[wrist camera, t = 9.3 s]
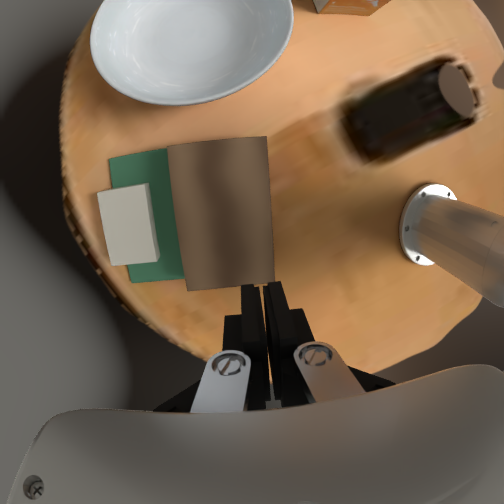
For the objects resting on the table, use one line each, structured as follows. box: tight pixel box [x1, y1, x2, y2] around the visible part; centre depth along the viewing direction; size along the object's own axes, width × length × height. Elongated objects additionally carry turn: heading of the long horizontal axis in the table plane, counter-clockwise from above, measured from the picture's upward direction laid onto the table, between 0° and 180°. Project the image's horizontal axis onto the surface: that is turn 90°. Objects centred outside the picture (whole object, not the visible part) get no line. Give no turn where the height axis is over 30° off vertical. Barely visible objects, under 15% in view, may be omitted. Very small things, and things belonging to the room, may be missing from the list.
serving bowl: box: [90, 0, 294, 106], centre depth 22 cm, size 21×21×7 cm
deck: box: [167, 136, 275, 291], centre depth 31 cm, size 10×16×4 cm, turn 4°
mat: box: [109, 148, 185, 283], centre depth 32 cm, size 8×16×1 cm, turn 4°
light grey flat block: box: [97, 183, 160, 266], centre depth 31 cm, size 6×9×2 cm, turn 4°
